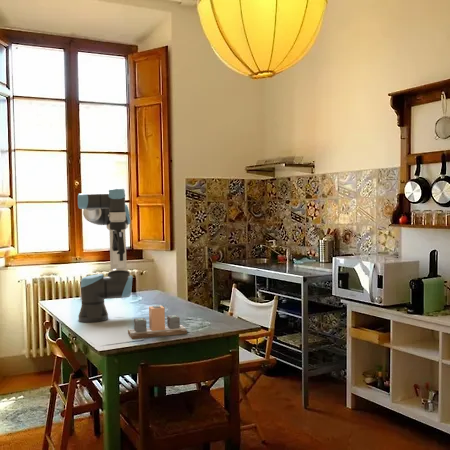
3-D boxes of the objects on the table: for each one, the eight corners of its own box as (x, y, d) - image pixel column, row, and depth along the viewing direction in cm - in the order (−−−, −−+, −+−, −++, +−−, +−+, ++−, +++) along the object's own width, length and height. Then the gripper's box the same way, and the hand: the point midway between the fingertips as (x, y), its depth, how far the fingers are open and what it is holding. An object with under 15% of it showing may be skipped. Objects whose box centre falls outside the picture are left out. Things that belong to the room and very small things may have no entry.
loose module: (149, 328, 246) (148, 306, 246) (162, 326, 248) (161, 304, 248) (152, 330, 240) (151, 308, 240) (165, 329, 242) (164, 307, 242)
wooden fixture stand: (127, 333, 246) (127, 317, 246) (180, 328, 254) (179, 312, 254) (132, 339, 234) (131, 322, 234) (186, 333, 243) (186, 317, 242)
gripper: (105, 220, 261) (106, 263, 262) (113, 222, 237) (115, 269, 239) (120, 219, 263) (122, 262, 265) (130, 222, 240) (131, 268, 241)
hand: (118, 266), depth 252 cm, fingers open, 13 cm apart
